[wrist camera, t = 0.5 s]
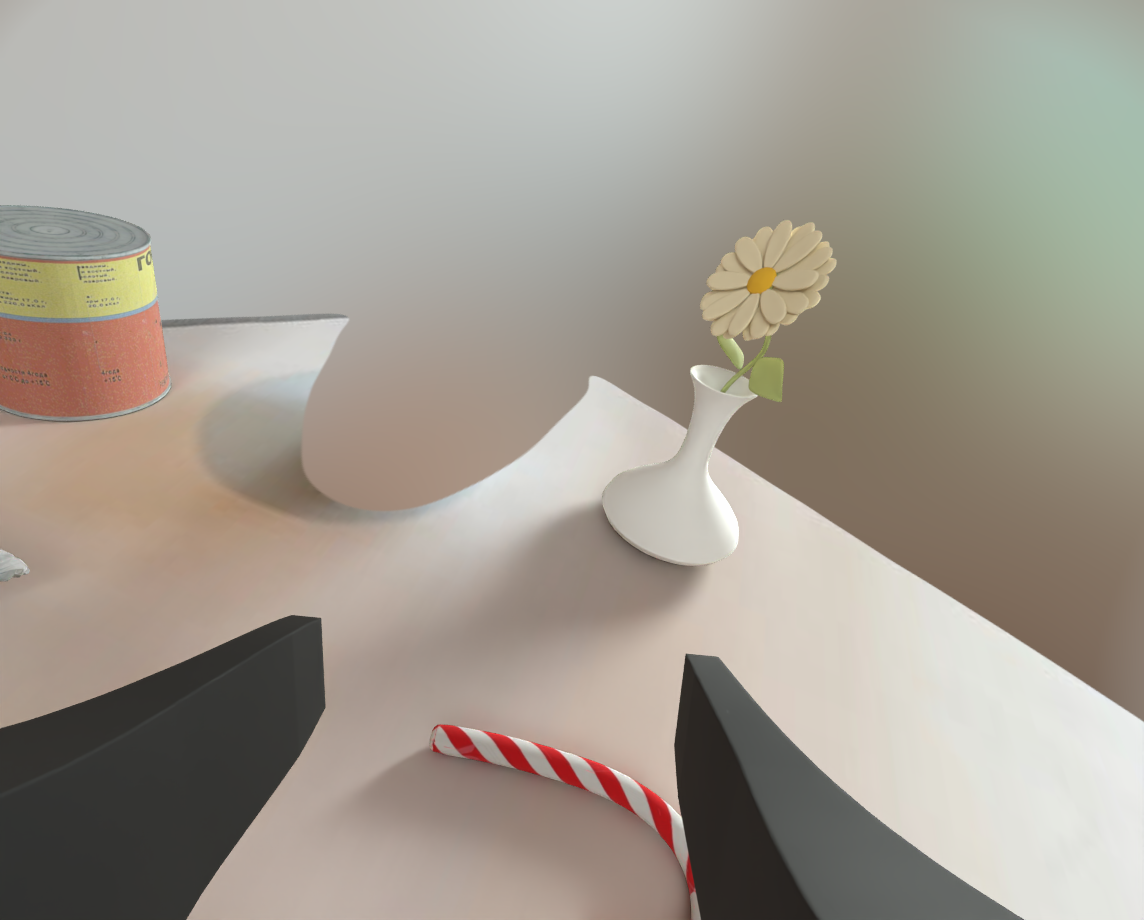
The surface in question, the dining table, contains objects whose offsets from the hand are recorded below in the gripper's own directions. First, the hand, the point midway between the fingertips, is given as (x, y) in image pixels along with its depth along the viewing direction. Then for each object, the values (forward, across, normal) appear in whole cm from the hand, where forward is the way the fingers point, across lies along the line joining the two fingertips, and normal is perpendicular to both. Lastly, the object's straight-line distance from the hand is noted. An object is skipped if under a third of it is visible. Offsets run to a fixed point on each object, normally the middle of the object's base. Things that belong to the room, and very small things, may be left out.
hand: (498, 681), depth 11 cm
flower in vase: (+35, -7, +10) cm, 37 cm away
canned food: (+33, +40, +1) cm, 52 cm away
